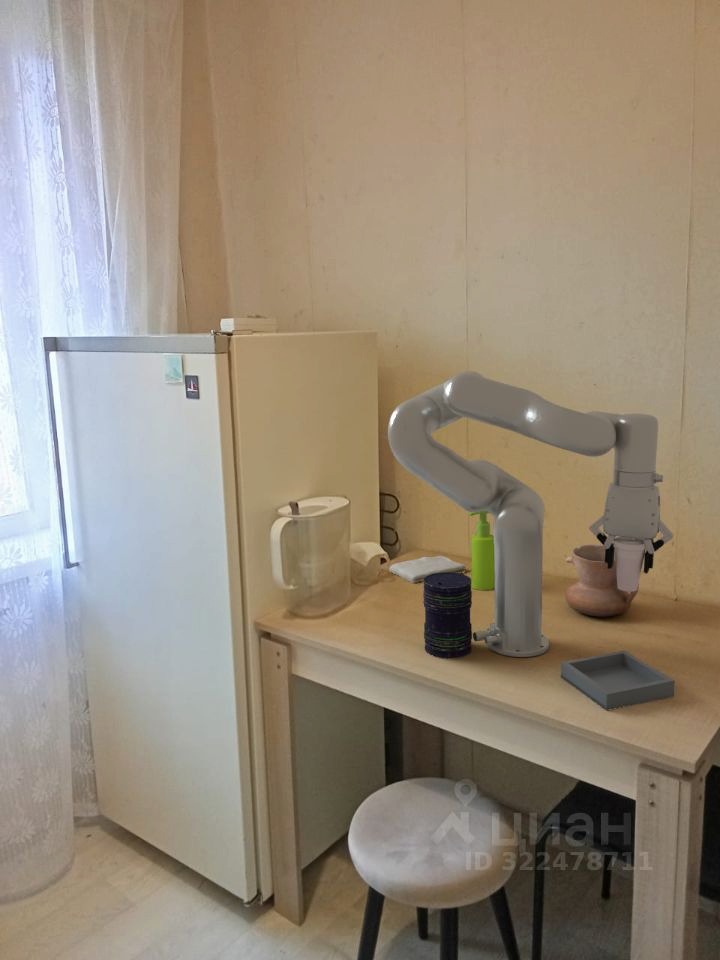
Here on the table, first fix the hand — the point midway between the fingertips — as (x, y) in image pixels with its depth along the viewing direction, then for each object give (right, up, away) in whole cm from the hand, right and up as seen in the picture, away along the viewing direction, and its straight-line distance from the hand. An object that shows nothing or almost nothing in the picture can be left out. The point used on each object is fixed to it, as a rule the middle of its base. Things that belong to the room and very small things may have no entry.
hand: (628, 568), depth 152 cm
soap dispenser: (-22, -10, +46) cm, 52 cm away
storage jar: (-34, -18, +9) cm, 40 cm away
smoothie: (0, -4, +1) cm, 4 cm away
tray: (-6, -20, -10) cm, 24 cm away
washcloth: (-34, -8, +59) cm, 68 cm away
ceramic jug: (+3, -13, +27) cm, 30 cm away
